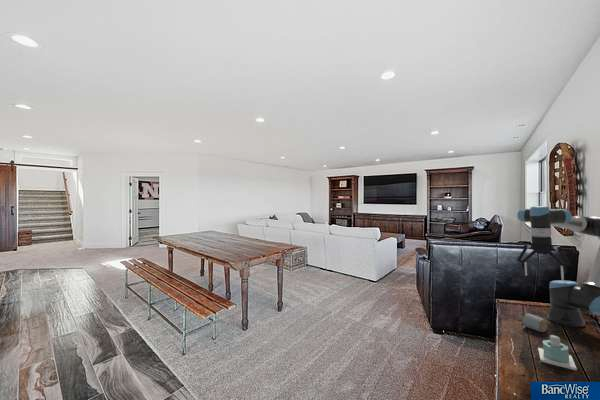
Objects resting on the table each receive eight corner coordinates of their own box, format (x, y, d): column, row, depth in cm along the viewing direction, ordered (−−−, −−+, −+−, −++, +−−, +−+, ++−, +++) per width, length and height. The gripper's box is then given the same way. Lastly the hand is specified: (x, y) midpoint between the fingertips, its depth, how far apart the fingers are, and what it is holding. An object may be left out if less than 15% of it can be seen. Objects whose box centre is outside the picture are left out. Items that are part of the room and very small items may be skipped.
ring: (555, 350, 118) (554, 339, 118) (574, 361, 110) (573, 349, 110) (538, 351, 118) (537, 340, 118) (556, 362, 110) (556, 350, 110)
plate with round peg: (538, 349, 122) (536, 328, 122) (571, 357, 115) (569, 335, 115) (540, 361, 113) (539, 338, 113) (576, 370, 106) (575, 346, 106)
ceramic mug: (541, 334, 134) (540, 320, 135) (523, 327, 142) (522, 314, 142) (552, 330, 138) (551, 316, 138) (534, 324, 146) (533, 310, 146)
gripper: (509, 235, 137) (512, 275, 136) (577, 238, 120) (580, 283, 120) (510, 234, 142) (512, 271, 142) (575, 236, 126) (578, 279, 125)
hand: (543, 277), depth 131 cm, fingers open, 13 cm apart
